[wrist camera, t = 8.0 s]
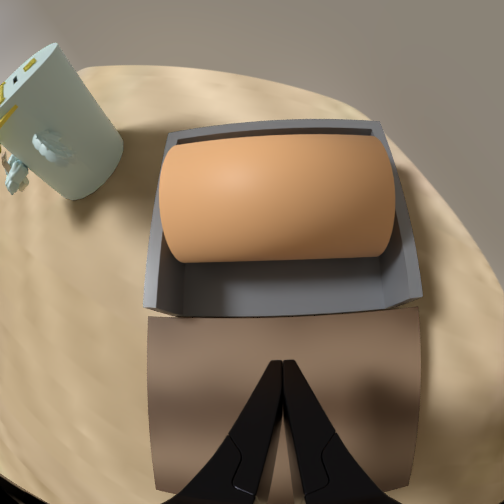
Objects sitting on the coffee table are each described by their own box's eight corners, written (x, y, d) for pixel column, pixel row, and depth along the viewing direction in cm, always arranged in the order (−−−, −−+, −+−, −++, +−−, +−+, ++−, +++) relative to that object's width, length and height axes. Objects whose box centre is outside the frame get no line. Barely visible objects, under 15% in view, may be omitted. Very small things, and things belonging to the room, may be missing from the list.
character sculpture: (30, 170, 26) (-32, 113, 13) (91, 107, 28) (42, 36, 15) (76, 277, 20) (-53, 213, 7) (169, 180, 21) (85, 50, 9)
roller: (405, 167, 10) (377, 282, 14) (360, 121, 15) (352, 212, 20) (145, 178, 11) (184, 288, 16) (187, 130, 16) (206, 217, 21)
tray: (392, 308, 16) (422, 296, 12) (174, 316, 18) (143, 307, 14) (366, 159, 20) (379, 121, 16) (187, 168, 22) (168, 133, 17)
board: (395, 471, 12) (408, 485, 10) (170, 476, 14) (156, 489, 12) (402, 311, 16) (418, 306, 14) (164, 320, 18) (148, 316, 15)
